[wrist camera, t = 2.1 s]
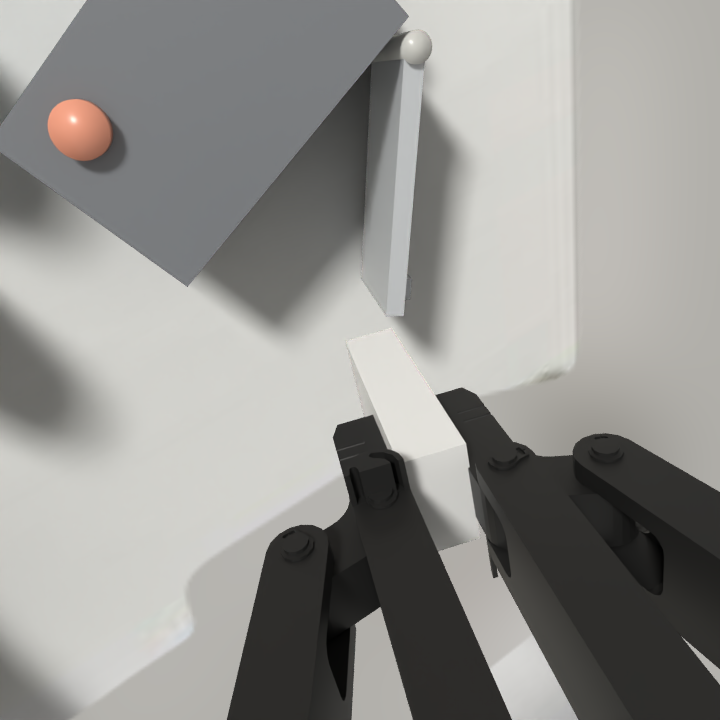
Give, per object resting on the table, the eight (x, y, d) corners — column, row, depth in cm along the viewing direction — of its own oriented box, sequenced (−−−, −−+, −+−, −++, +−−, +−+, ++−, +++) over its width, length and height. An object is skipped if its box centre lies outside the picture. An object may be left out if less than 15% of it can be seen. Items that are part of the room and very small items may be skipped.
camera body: (197, 247, 36) (188, 293, 29) (40, 129, 32) (-20, 145, 24) (391, 7, 33) (442, -15, 25) (245, -160, 29) (252, -249, 21)
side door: (384, 277, 40) (415, 317, 33) (357, 278, 39) (383, 318, 33) (400, 40, 34) (441, 31, 27) (369, 38, 33) (403, 28, 27)
